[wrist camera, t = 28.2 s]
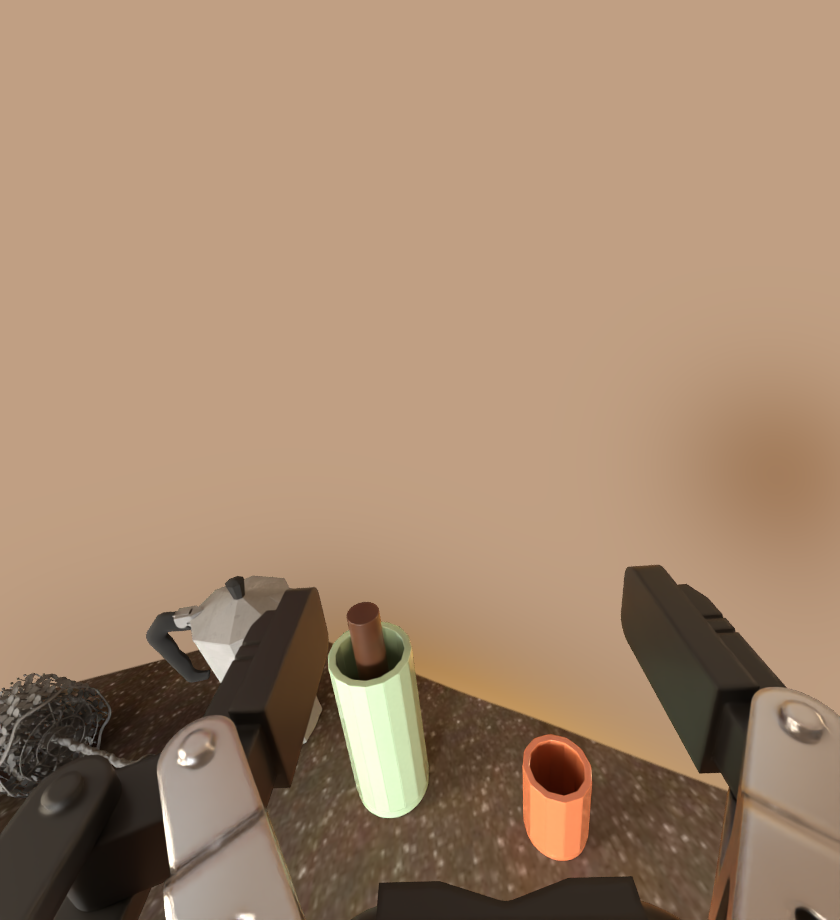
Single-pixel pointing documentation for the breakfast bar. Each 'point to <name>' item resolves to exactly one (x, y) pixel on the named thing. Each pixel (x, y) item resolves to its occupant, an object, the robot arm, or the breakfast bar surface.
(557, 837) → the pot
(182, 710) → the breakfast bar surface
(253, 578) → the coffeepot
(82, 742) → the massage brush
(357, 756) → the vase
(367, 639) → the bottle brush
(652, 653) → the robot arm
